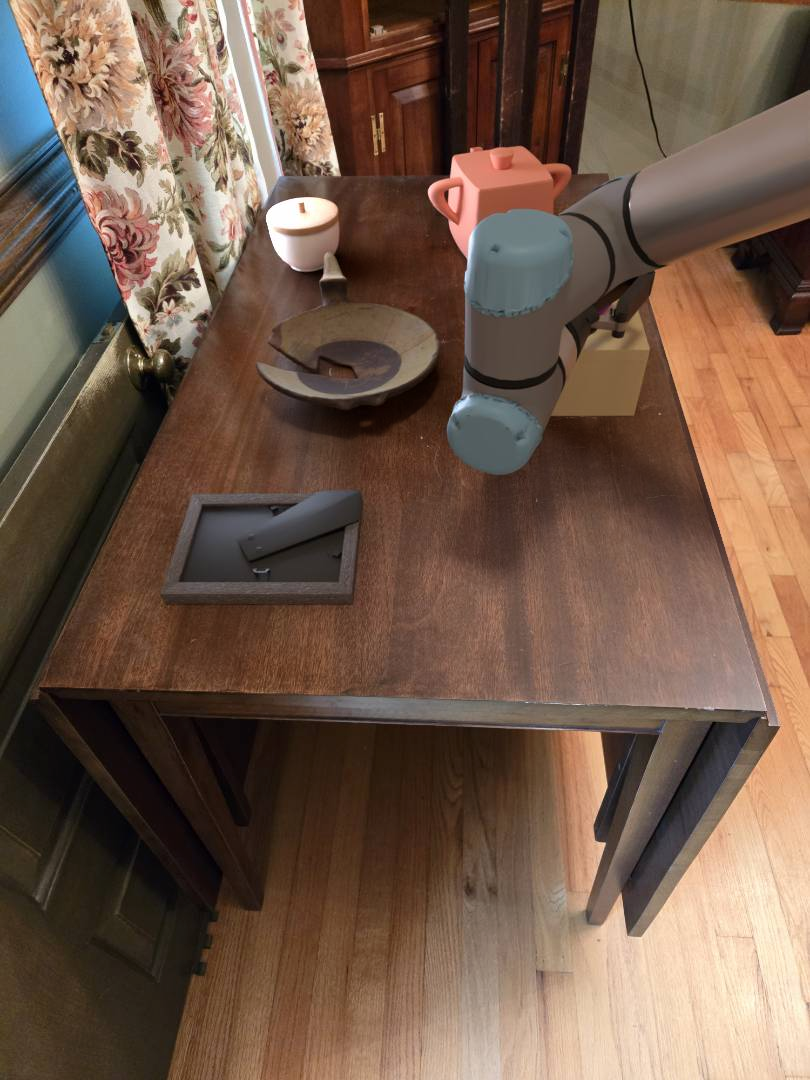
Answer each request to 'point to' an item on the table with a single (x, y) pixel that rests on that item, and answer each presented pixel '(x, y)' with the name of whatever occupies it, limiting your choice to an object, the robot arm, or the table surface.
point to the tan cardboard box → (607, 374)
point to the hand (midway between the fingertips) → (596, 239)
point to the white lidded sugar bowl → (304, 231)
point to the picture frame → (267, 549)
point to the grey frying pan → (351, 348)
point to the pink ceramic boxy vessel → (495, 187)
